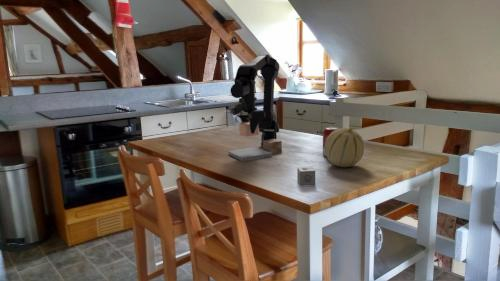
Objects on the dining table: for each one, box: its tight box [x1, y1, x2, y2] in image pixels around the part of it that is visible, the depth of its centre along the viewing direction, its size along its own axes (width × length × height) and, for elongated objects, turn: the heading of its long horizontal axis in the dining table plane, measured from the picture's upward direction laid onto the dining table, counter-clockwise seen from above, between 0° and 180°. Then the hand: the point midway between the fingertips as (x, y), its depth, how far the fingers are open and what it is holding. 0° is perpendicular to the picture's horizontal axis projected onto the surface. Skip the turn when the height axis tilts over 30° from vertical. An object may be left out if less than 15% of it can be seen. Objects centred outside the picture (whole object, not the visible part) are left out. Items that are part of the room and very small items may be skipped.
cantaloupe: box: [325, 127, 365, 168], centre depth 147 cm, size 15×15×15 cm
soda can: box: [322, 126, 339, 158], centre depth 163 cm, size 7×7×12 cm
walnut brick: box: [262, 139, 283, 154], centre depth 175 cm, size 6×6×5 cm
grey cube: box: [296, 166, 316, 187], centre depth 130 cm, size 5×5×5 cm
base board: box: [227, 146, 273, 162], centre depth 169 cm, size 14×14×2 cm
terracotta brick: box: [238, 122, 260, 138], centre depth 167 cm, size 6×6×5 cm
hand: (249, 132), depth 167 cm, fingers closed on terracotta brick, 6 cm apart
